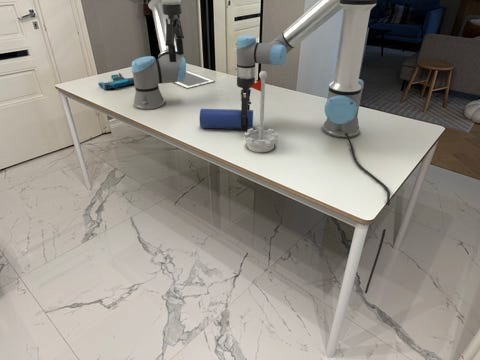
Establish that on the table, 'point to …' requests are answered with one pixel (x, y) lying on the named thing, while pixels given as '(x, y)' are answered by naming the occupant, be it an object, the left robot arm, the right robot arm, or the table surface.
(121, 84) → the submachine gun
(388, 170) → the table surface
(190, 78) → the tablet
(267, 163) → the table surface
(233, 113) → the rod
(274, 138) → the flag stand
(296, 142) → the table surface
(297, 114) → the table surface
